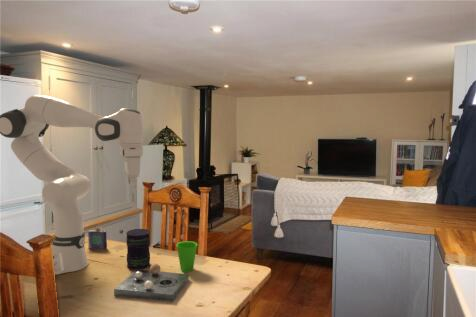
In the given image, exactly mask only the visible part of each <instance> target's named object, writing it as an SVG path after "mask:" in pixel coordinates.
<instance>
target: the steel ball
mask: <svg viewBox="0 0 476 317" xmlns="http://www.w3.org/2000/svg"><path fill="white" fill-rule="evenodd" d="M142 277H143V274H142V272H140V271H137V272H136V273H135V274H134V278H135V279H136V280H140V279H142Z"/></svg>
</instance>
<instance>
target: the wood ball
mask: <svg viewBox="0 0 476 317" xmlns="http://www.w3.org/2000/svg"><path fill="white" fill-rule="evenodd" d="M149 271H150V272H151V273H152V274H158V273H159V272H161V266H160V265H159V264H158V263H153V264H151V265H150V266H149Z"/></svg>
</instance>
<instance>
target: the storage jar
mask: <svg viewBox="0 0 476 317" xmlns="http://www.w3.org/2000/svg"><path fill="white" fill-rule="evenodd" d="M150 234H151V233H150V230H149V229H146V228H135V229H130V230H127V231H126V241H125V242H126V246H127V247H126V248H127V251H126V252H127V253H126V267H127V269H129V270H131V271H132V270H133V271H136V270H146V269H147V268H150V267H151V263H150V262H151V261H150V260H151V253H150V244H151V236H150Z"/></svg>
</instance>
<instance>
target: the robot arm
mask: <svg viewBox="0 0 476 317" xmlns="http://www.w3.org/2000/svg"><path fill="white" fill-rule="evenodd" d="M49 126H51V127H52V126H53V127H59V128H89V129H93V130H94V132H95V135H96V137H97V138H98V139H99V140H100V141H102V142H108V143H109V142H118V143H119V156H122V160H124V171H125V173H126V174H127V183H128V185H130V186H129V187H130V188H131V189H135V188H136V186H137V185H136V184H137V183H136V182H137V178H138V177H139V176H140V171H141V158H142V157H143V155H144V141H143V133H144V130H143V128H144V127H143V117H142V114H141V112H140V111H138V110H136V109H133V108H132V109H131V108H127V107H126V108H124V107H123V108H121V109H119V111H117V112H115V113H113V114H111V115H108V116H105V115H101V114H98V113H94V112H91V111H89V110H86V109H83V108H82V107H80V106H77V105H74V104H72V103H70V102H69V101H65V100H63V99H59V98H56V97H52V96H48V95H40V94H33V95H31V96H29V97H28V98H27V99H26V101H25V104H24V107H23V108H20V109H18V108H15V109H12V110H8V111H6V112H3V113H2V114H0V135H1V136H3V137H4V138H8V139H9V138H10V139H13V140H12V141H11V144H10V149H11V150H12V152H13V153H14V155H15V156H16V157H17V159H18V160H19V161H20V163H22V165H23V166H24V167H25V168H26V169H28V171H29V172H30V173H31V174H32V175H33V176H34V177H35V178H36V179H38V180H40V181H43V182H45V183H46V184H45V185H44V186H43V188H42V190H41V197H42V200H43V201H44V202H45V203H46V204H47V205H49V207H50V209H51V212H52V216H53V221H54V222H53V223H54V234H53V235H52V236H55V237H56V239H55V240H54V242H53V244H52V252H53V262H54V271H55V274H54V275H62V274H64V273H65V274H66V273H70V272H71V273H72V272H76V271H81V270H83V269H85V268H86V267H88V266H89V262H88V258H87V253H86V249H85V243H86V235H85V231H84V215H83V213H82V212H81V211H80V210H79V207H78V204H77V201H78V200H80V199H83V198H84V197H85V196H87V194H88V193H89V192H90V191H91V188H92V183H91V180H90V179H89V177H87V176H86V175H83V174H82V173H79V172H77V171H75V170H74V169H72V168H71V167H69V166H67V165H66V164H65V163H63V162H62V161H60V160H59V159H58V158H57V157H56V156H55V155H54V154H53V153H52V152H51V151H50V150H49V149H48V148H47V147H46V146H45V145H44V144H43V143H42V142H41V141H40V138H41V137H43V136H45V134H46V131H47V130H48V129H49Z"/></svg>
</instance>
